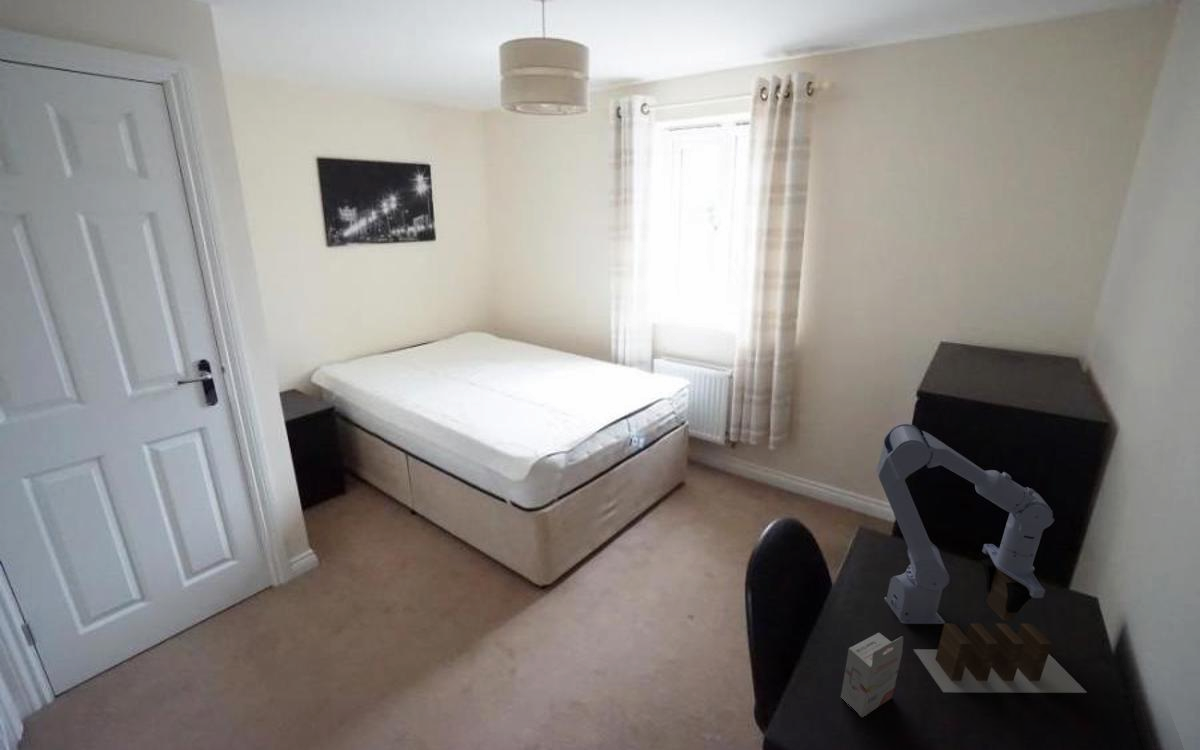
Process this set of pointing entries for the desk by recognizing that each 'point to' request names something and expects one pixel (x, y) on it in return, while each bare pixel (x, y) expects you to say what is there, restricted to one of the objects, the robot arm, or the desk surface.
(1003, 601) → the brown wooden block
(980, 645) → the domino
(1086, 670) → the desk surface
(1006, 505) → the robot arm
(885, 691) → the ink cartridge box
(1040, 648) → the domino
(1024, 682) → the mat
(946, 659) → the domino
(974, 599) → the desk surface
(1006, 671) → the domino
